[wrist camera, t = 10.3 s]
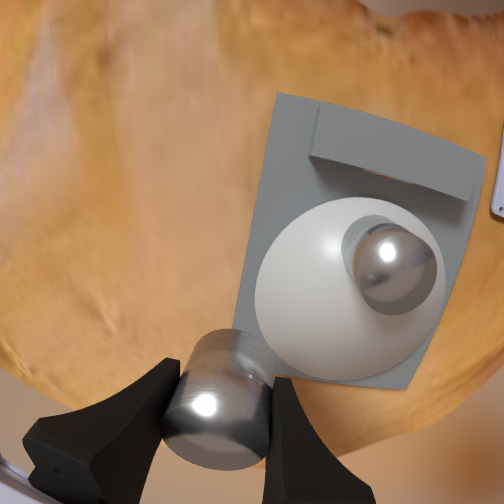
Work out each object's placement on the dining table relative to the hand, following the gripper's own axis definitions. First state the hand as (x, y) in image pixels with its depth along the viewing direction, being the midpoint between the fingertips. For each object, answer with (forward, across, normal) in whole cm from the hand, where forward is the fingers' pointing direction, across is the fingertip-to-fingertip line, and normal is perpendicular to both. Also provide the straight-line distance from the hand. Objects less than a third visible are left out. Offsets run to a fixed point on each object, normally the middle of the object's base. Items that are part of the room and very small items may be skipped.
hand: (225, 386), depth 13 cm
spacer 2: (+8, -7, -5) cm, 12 cm away
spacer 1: (+2, 0, 0) cm, 2 cm away
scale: (+10, -7, -3) cm, 13 cm away
